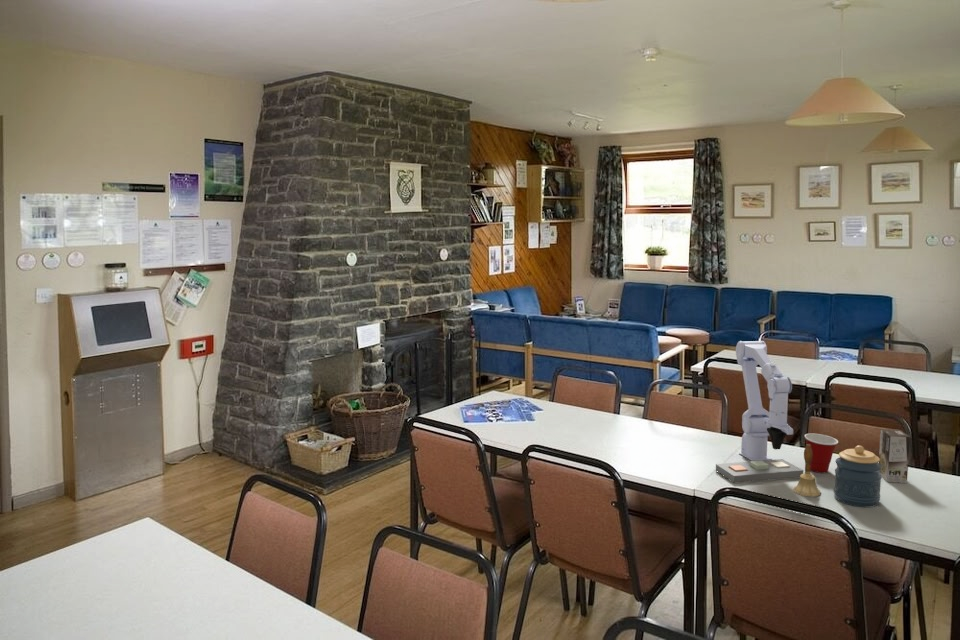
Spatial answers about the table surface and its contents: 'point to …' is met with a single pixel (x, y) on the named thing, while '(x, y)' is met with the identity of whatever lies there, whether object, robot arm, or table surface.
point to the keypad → (759, 472)
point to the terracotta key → (737, 468)
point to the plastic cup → (821, 451)
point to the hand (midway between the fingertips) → (776, 448)
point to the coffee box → (894, 455)
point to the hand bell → (807, 477)
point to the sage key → (759, 465)
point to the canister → (858, 477)
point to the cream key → (779, 465)
